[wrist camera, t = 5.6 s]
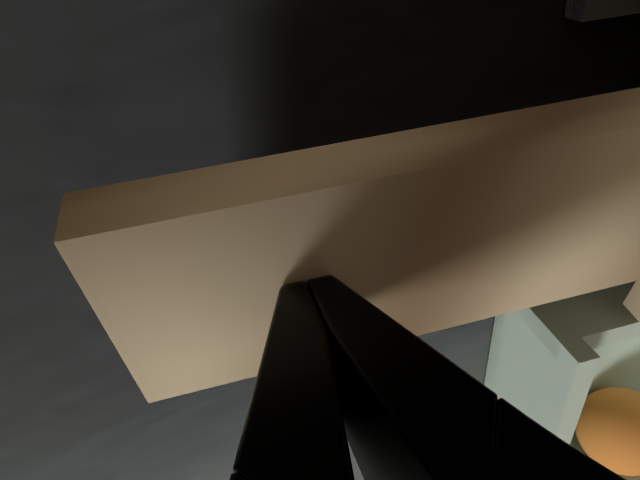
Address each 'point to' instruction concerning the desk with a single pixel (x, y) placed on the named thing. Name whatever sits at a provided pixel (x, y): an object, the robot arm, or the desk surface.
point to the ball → (612, 429)
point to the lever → (361, 234)
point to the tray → (565, 357)
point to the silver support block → (599, 9)
